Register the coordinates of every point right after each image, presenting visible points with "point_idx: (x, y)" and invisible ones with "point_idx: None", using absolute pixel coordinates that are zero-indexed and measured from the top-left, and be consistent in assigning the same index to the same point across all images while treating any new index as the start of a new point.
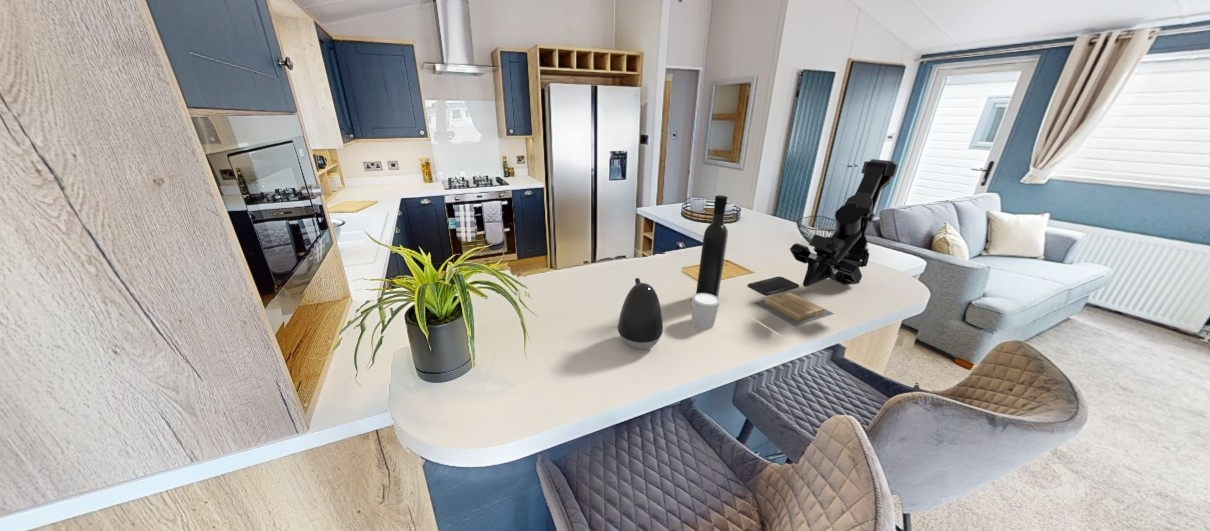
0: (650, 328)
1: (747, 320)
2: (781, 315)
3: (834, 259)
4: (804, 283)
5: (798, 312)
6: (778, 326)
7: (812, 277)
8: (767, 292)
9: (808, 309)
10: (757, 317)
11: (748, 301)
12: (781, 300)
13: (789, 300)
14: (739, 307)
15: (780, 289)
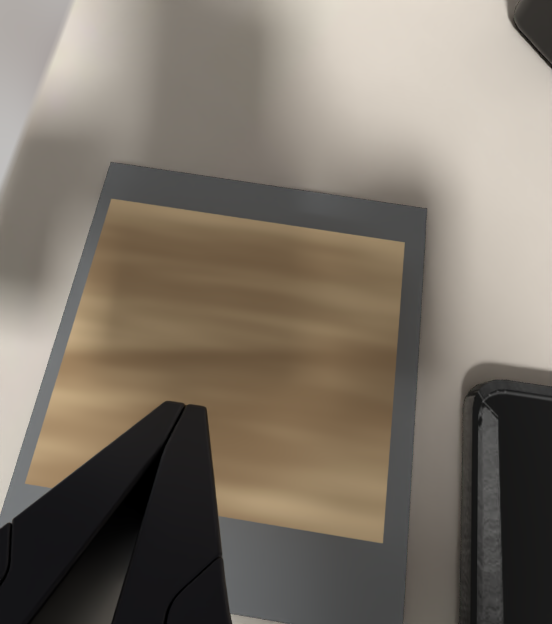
0: None
1: (311, 39)
2: (227, 206)
3: None
4: (182, 411)
5: (140, 248)
6: (177, 107)
7: (64, 488)
8: (500, 425)
9: (110, 353)
10: (302, 99)
11: (466, 212)
12: (318, 315)
13: (283, 370)
14: (434, 111)
15: (495, 596)
